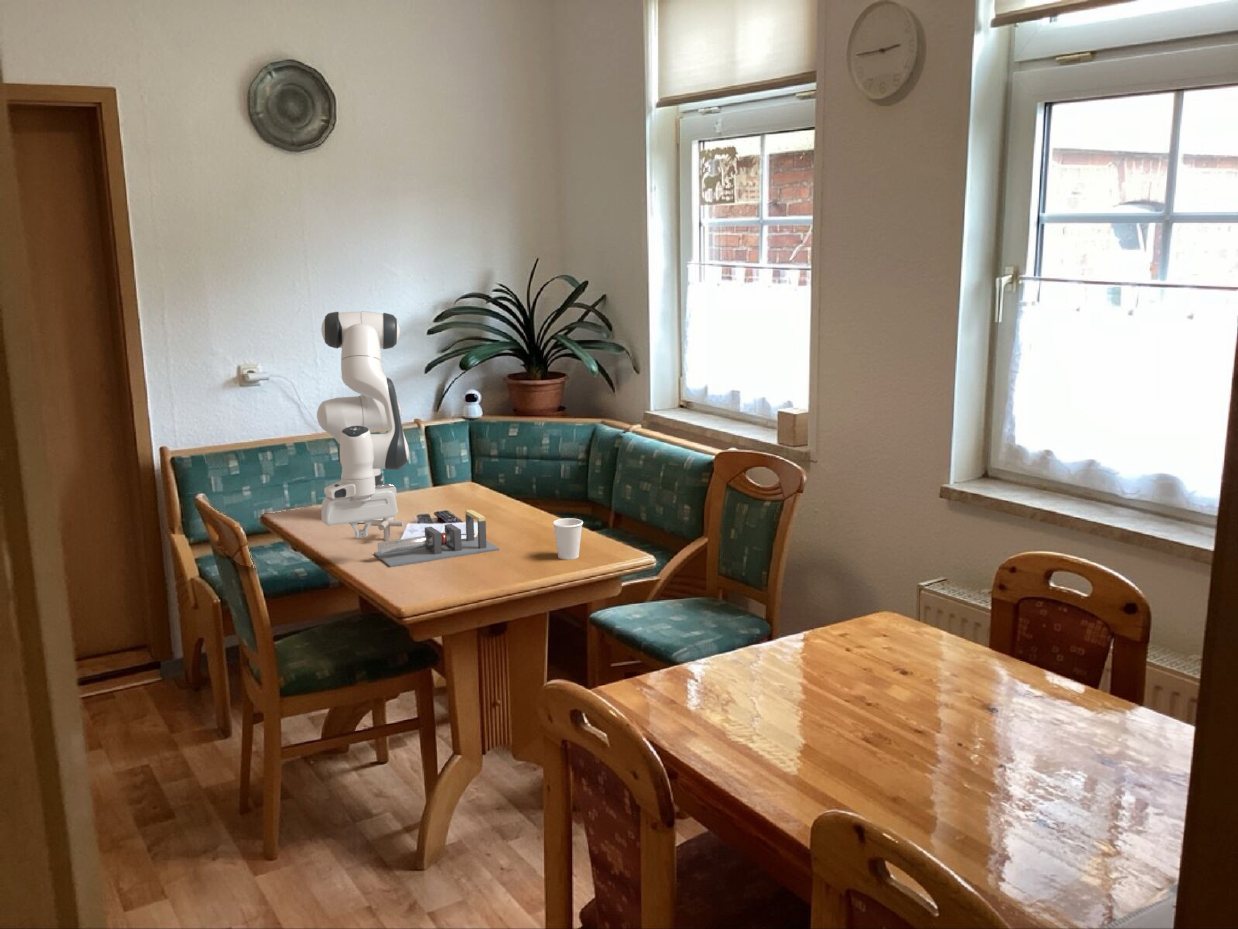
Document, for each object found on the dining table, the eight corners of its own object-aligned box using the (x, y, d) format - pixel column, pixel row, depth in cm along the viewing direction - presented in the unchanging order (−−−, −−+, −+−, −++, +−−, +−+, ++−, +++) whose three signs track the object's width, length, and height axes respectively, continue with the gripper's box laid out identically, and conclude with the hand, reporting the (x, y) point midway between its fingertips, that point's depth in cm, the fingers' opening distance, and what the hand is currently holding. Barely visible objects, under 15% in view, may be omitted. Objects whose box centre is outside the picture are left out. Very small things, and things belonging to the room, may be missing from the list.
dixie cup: (563, 562, 292) (562, 527, 290) (548, 555, 299) (547, 520, 297) (589, 557, 297) (588, 522, 295) (573, 550, 304) (573, 516, 302)
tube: (377, 552, 296) (377, 540, 295) (446, 542, 306) (445, 530, 305) (381, 556, 293) (381, 543, 292) (450, 545, 303) (450, 533, 302)
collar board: (374, 554, 301) (372, 521, 299) (479, 538, 317) (478, 506, 315) (390, 567, 289) (388, 533, 287) (498, 549, 305) (498, 517, 303)
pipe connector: (408, 535, 320) (407, 502, 318) (398, 544, 310) (396, 511, 308) (376, 534, 321) (374, 502, 319) (365, 543, 311) (363, 510, 309)
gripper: (392, 480, 295) (394, 529, 298) (318, 489, 285) (321, 539, 288) (399, 484, 290) (402, 534, 293) (324, 493, 280) (327, 544, 283)
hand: (361, 536), depth 290 cm, fingers closed
